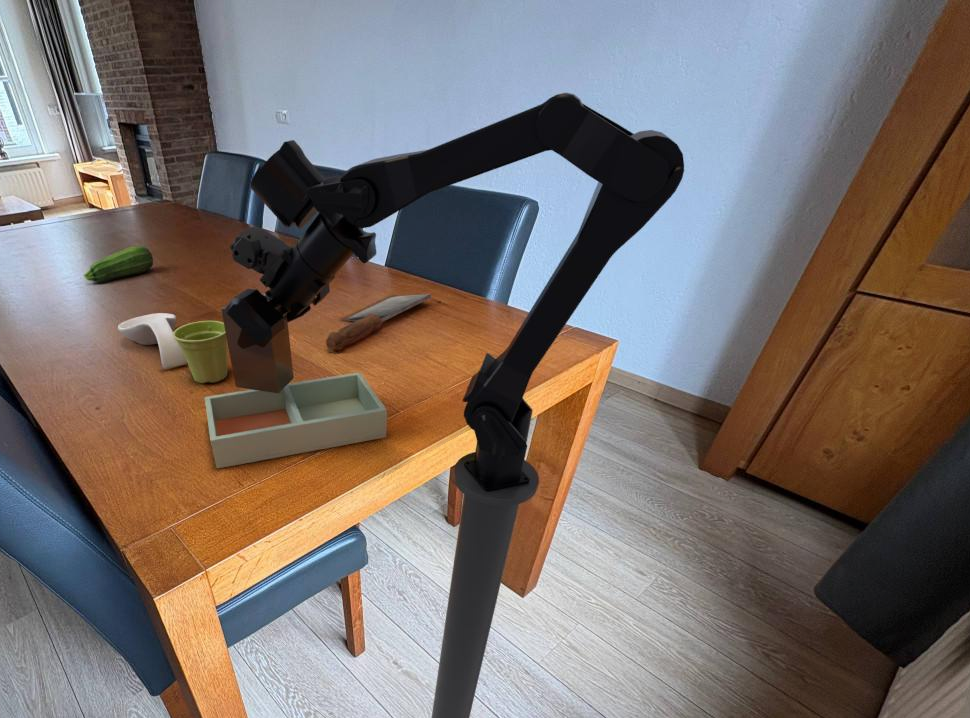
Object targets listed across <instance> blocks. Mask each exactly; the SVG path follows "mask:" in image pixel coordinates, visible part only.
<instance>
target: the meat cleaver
mask: <svg viewBox="0 0 970 718" xmlns="http://www.w3.org/2000/svg"><path fill="white" fill-rule="evenodd" d="M430 299H432V294H431V293H422V294H411V295H398V296H391V297H389V298H387V299H385V300H382V301H380V302H379V303H376V304H374V305H371V306H370V307H367V308H365V309H364V310H361V311H359V312H357V313H355V314H353V315H351V316H349V317H347V318H345V319H344V321H347V322H351V323H349V324H347V325H345V326H343V327H341V328H340V329H338V330H337V331H333V332H329V334H328V336H327V338H326V340H325V345H326V347H327V348H328V350H330V351H335V352H339V351H341V350H342V349H343V347H346V346H347V347H348V346H350V345H351V344H353V343H355V342H357V341H359V340H361V339H363V338H365V337H367V336H368V335H370V334H371V333H376V332H378V331H379V329H380V327H381V325H382V323H383V322H385V321H387V320H389V319H392V318H393V317H396V316H397V315H399V314H401V313H404V312H405V311H407V310H409V309H412V308H413V307H415V306H417V305H420V304H421V303H424V302H425V301H428V300H430Z"/></svg>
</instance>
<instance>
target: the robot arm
mask: <svg viewBox="0 0 970 718" xmlns="http://www.w3.org/2000/svg"><path fill="white" fill-rule="evenodd" d="M548 151H553V153H556V154H557V155H559V156H560V157H562V158H563V159H564V160H566V161H567V162H569V163H570V164H572V165H573V166H574V167H575V168H577V169H579V171H582V172H583V174H585V175H586V176H589V177H590V178H592V179H593V180H594V181H597V184H596V187H595V188H594V191H593V194H592V196H591V199H590V202H589V204H588V206H587V209H586V212H585V214H584V217H583V219H582V222H581V225H580V227H579V229H578V232H577V234H576V235H575V237H574V239H573V240H572V242H571V243H570V244H569V247H568V248H567V250H566V252H565V253H564V255H563V257H562V258H561V260H560V261H559V263H558V264H557V266H556V268H555V270H554V271H553V273H552V275H551V276H550V277H549V279H548V281H547V283H545V285H544V288H543V289H542V291H541V292H540V294H539V296H538V297H537V299H536V301H535V303H534V304H533V305H532V307H531V309H530V310H529V312H528V314H527V315H526V317H525V318H524V320H523V322H522V323H521V325H520V327H519V328H518V330H517V332H516V333H515V335H514V336H513V338H512V340H511V341H510V343H509V345H508V346H507V347H506V349H505V350H504V351H502V353H501V354H499V355H498V356H497V357H494V356H493V355H491V354H490V353H488V352H486V353H485V356H484V358H483V361H482V362H481V363H482V364H481V365H480V369H478V371H477V372H476V373H475V374H474V375H473V376H472V377H471V378H470V381H469V383H468V386H467V388H466V391H465V394H464V396H463V398H462V402H463V403H466V404H465V406H464V410H463V417H464V419H465V422H466V424H467V426H468V427H469V428H470V429H471V430H472V431H474V435H475V438H476V447H475V451H474V452H475V460H471V461H466V462H465V463H464V467H465V468H466V469H467V470H468V471H469V473H470V474H471V475H472V476H473V478H474V479H475V480H476V481H477V482H478V484H479V485H480V486H481V487H482V489H483V490H484V491H486V492H490V491H495V490H500V489H504V488H509V487H514V486H518V485H523V484H528V483H529V481H530V478H529V477H528V476H527V475H526V474H525V473H524V472H523V471H522V468H523V463H524V460H526V459H525V458H526V455H527V449H528V443H527V442H528V438H529V433H530V432H529V431H530V428H531V427H530V426H531V421H532V417H533V409H532V407H531V406H530V405H529V403H528V402H527V401H526V400H525V399H524V395H525V393H526V390H527V388H528V385H529V382H530V380H531V377H532V376H533V373H534V371H535V370H536V369H537V367H538V366H539V364H540V363H541V361H542V360H543V359H544V357H545V356H546V354H547V352H548V351H549V349H550V348H551V346H552V345H553V344H554V342H555V340H556V339H557V338H558V336H559V335H560V334H561V331H563V329H564V327H565V326H566V324H567V323H568V322H569V320H570V319H571V317H572V315H574V313H575V311H576V310H577V309H578V307H579V305H580V304H581V302H582V301H583V299H584V298H585V297H586V295H587V293H588V292H589V290H590V289H591V288H592V286H593V285H594V283H595V282H596V281H597V279H598V277H599V276H600V274H601V273H602V271H603V270H604V269H605V267H606V265H607V264H608V262H609V261H610V260H611V258H612V257H613V256H614V254H615V253H616V252H618V250H619V249H620V248H622V247H623V246H624V245H625V244H626V243H628V241H630V240H631V238H633V237H634V236H635V235H636V234H637V233H639V232H640V231H641V230H642V229H643V228H644V227H645V226H646V225H647V224H648V222H649V221H650V220H651V219H652V218H653V217H654V216H655V214H657V213H658V211H660V210H661V208H662V207H664V205H665V204H666V203H667V202H668V201H669V200H670V199H671V198H672V197H673V195H674V194H675V193H676V191H677V190H678V188H679V186H680V183H681V182H682V180H683V177H684V173H685V161H684V154H683V152H682V150H681V149H680V147H679V144H677V143H676V142H675V141H674V140H673V139H672V138H670V137H669V136H668V135H666V134H665V133H663V132H662V131H658V130H653V129H649V130H648V129H647V130H640V131H637V132H635V133H633V132H632V131H630V130H628V129H627V128H625V127H623V126H622V125H621V124H618V123H617V122H615V121H614V120H612V119H610V118H609V117H606V116H605V115H603V114H601V113H600V112H598V111H596V110H594V109H593V108H591V107H589V106H587V105H586V104H584V103H583V102H582V100H581V98H579V97H578V95H576V94H575V93H570V92H562V93H557V94H554V95H553V96H551V97H549V98H548V99H547V100H546V101H544V102H543V103H540V104H537V105H536V106H533V107H531V108H528V109H526V110H524V111H520V112H517V113H516V114H514V115H511V116H508V117H506V118H504V119H503V118H502V119H501V120H498V121H496V122H493V123H491V124H489V125H486V126H484V127H481V128H477V129H476V130H474V131H470V132H469V133H466V134H464V135H462V136H458V137H456V138H453V139H450V140H449V141H445V142H443V143H441V144H439V145H436V146H434V147H431V148H429V149H423V150H418V151H412V152H405V153H398V154H394V155H388V156H383V157H377V158H373V159H370V160H368V161H365V162H362V163H359V164H357V165H354V166H352V167H350V168H348V169H347V170H346V171H344V173H343V174H342V175H340V174H335V175H333V176H330V177H327V178H325V177H324V176H323V175H322V173H321V172H320V171H319V170H318V169H317V168H316V166H315V165H313V163H312V162H311V160H309V158H308V157H307V156H306V155H305V153H304V151H303V149H302V148H301V147H300V145H299V144H298V143H297V141H295V140H294V139H290V140H287V141H284V142H283V143H282V144H281V146H280V148H279V149H278V150H277V151H275V152H274V153H273V154H272V155H271V156H270V157H269V158H268V159H267V160H266V161H265V162H264V163H263V164H261V165H260V166H259V167H258V168H257V169H256V171H255V172H254V174H253V176H252V178H251V180H250V185H249V187H250V189H251V190H252V192H253V193H254V194H255V195H256V197H258V198H259V199H260V200H261V202H262V203H263V204H264V205H265V206H266V207H267V208H268V209H269V210H270V211H271V213H272V214H273V215H274V216H275V217H276V218H277V219H278V220H279V221H280V223H281V224H282V225H283V226H284V227H285V228H291V227H292V226H294V225H295V226H296V227H297V228H298V229H301V228H303V227H305V225H307V224H308V223H309V222H310V221H311V219H312V218H313V217H314V216H315V215H316V214H317V212H318V214H317V215H316V217H315V218H314V220H312V222H311V224H310V225H309V226H308V227H307V228H306V229H305V231H304V232H303V234H302V235H301V236H300V238H299V239H298V240H297V241H296V242H295V243H294V245H293V246H290V245H288V244H287V243H286V242H285V241H284V240H283V239H280V238H279V237H277V236H275V235H273V234H272V233H270V232H268V231H266V230H265V229H263V228H261V227H258V226H251V227H249V228H246V229H243V230H242V231H240V232H238V235H237V236H235V239H234V241H233V242H232V243H231V244H230V245H229V247H230V251H231V253H232V254H231V256H232V259H233V261H234V262H235V263H237V264H239V265H241V266H243V267H244V268H246V269H248V270H250V269H251V270H253V271H254V272H257V273H258V274H261V275H262V276H260V278H259V281H260V283H261V284H262V285H263V286H264V287H265V288H269V289H268V290H267V291H265V292H264V293H263V295H264V296H265V297H264V296H263V295H262V293H261V292H260V291H259V290H258V289H257V288H247V289H245V290H243V291H242V292H240V293H239V294H237V295H235V296H234V297H232V299H231V300H230V302H229V304H228V303H227V304H228V306H227V307H226V313H227V314H228V315H229V316H230V317H231V319H232V320H233V321H234V322H235V323H236V324H237V325H238V326H239V327H240V328H241V332H240V336H239V339H238V342H237V344H238V345H239V346H240V347H241V348H242V349H245V348H248V347H250V346H253V345H256V344H257V345H258V346H259V347H263V348H264V347H265V346H267V345H268V344H269V343H270V342H272V341H273V340H274V339H275V338H276V337H277V336H279V335H280V334H281V333H282V331H283V330H284V328H285V325H284V322H285V319H284V317H283V316H284V315H285V314H287V322H288V323H290V322H293V321H294V320H297V319H299V318H301V317H303V316H304V315H306V314H307V313H308V312H310V310H311V309H312V307H311V305H313V306H314V307H316V306H317V305H318V304H319V303H321V302H322V301H323V300H324V299H325V297H327V296H328V295H329V293H331V292H330V291H331V290H330V289H331V287H330V283H332V282H333V280H334V279H335V278H336V274H337V273H338V272H340V270H341V269H342V267H343V266H344V265H345V264H347V262H348V261H349V260H350V259H351V258H352V257H353V255H355V256H356V258H357V259H358V260H359V261H360V262H361V263H362V264H367V263H368V262H370V261H371V260H372V259H373V258H374V257H375V256H377V245H376V238H377V233H376V232H375V231H373V232H368V231H365V230H364V229H367V228H371V227H373V226H376V225H377V224H379V223H381V222H382V221H384V220H386V219H387V218H389V217H391V216H392V215H394V214H397V212H400V211H401V210H403V209H404V208H406V207H408V206H409V205H411V204H413V203H414V202H416V201H417V200H419V199H421V198H423V197H424V196H426V195H428V194H430V193H432V192H435V191H438V190H440V189H444V188H446V187H450V186H453V185H455V184H458V183H461V182H463V181H466V180H468V179H471V178H475V177H478V176H480V175H483V174H486V173H489V172H491V171H493V170H497V169H499V168H503V167H505V166H508V165H511V164H513V163H516V162H519V161H522V160H524V159H527V158H531V157H534V156H536V155H539V154H541V153H544V152H548ZM267 299H268V300H270V301H268V300H267ZM280 306H282V307H280ZM279 307H280V308H279ZM277 308H279V309H278V310H276V309H277Z"/></svg>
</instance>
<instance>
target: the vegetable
mask: <svg viewBox="0 0 970 718" xmlns="http://www.w3.org/2000/svg"><path fill="white" fill-rule="evenodd" d="M153 265H154V258H153V254H152V252H151V251H150V250H149V248H147V247H145V246H143V245H132V246H128V247H127V248H124V249H122V250H120V251H117V252H115V253H113V254H112V253H111V255H108V256H106V257H104V258H102V259H99V260H98V261H95V262H94V263H92V264H91V265H90V267H89V270H88V271H86V273H85V274H83V277H84V278H85V280H87V281H88V282H95V283H98V284H103V283H107V282H110V281H112V280H115V279H120V278H123V277H124V278H125V277H130V276H137V275H140V274H143V273H146V272H147V271H149V270H151V268H152V267H153Z"/></svg>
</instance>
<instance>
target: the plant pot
mask: <svg viewBox="0 0 970 718" xmlns="http://www.w3.org/2000/svg"><path fill="white" fill-rule="evenodd" d="M173 337H174V339H176V340H177V342H178V344H179V346H180V347H181V348H182V350H183V353H184V355H185V358H186V360H187V363H186V364H187V366H188V368H189V371H190V373H191V376H192V378H193V380H194V381H195V382H197V383H199V384H205V383H212V384H214V383H217V382H220V381H222V380H224V379H225V378H227V376H228V373H229V372H228V355H227V353H228V351H227V337H226V332H225V327H224V322H223V321H220V320H219V321H218V320H201V321H195V322H189V323H186V324H183V325H181V326H179V327H178V328H176V329H174V330H173Z"/></svg>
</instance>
